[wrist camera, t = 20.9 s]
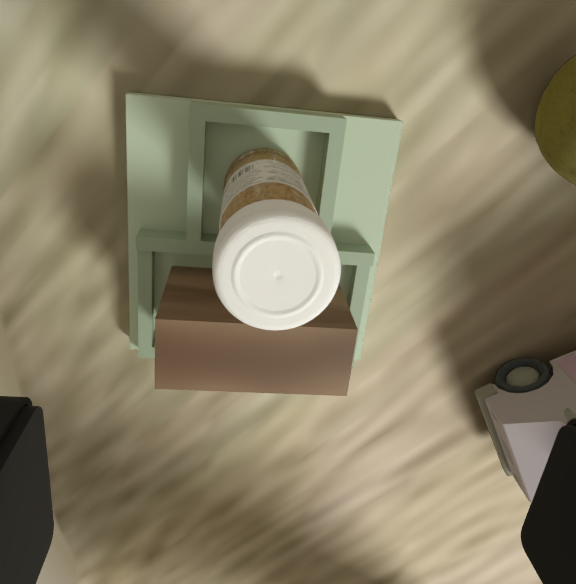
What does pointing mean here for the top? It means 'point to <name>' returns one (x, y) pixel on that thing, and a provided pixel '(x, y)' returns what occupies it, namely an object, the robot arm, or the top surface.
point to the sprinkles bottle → (272, 245)
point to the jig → (209, 189)
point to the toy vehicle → (528, 414)
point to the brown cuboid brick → (247, 344)
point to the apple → (559, 122)
